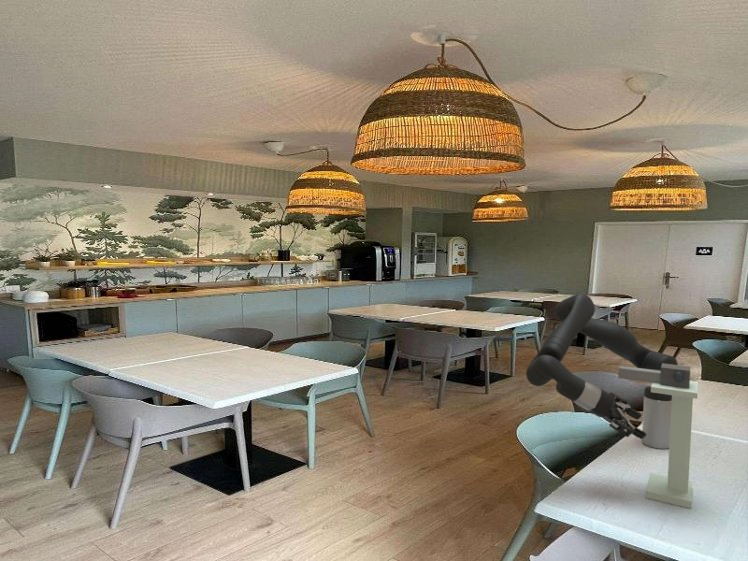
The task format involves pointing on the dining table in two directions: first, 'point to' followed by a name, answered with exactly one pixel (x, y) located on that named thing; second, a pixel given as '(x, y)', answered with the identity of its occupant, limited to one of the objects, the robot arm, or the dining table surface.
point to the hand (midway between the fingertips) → (641, 426)
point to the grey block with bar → (659, 375)
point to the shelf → (676, 449)
